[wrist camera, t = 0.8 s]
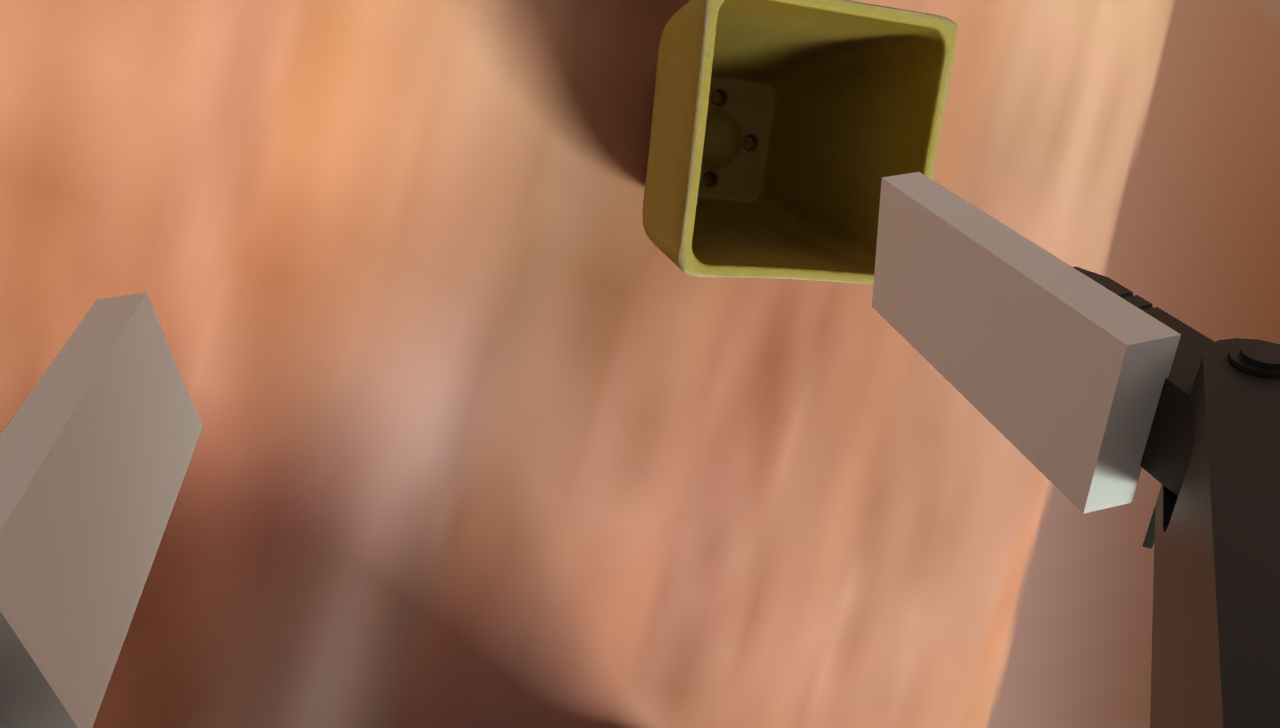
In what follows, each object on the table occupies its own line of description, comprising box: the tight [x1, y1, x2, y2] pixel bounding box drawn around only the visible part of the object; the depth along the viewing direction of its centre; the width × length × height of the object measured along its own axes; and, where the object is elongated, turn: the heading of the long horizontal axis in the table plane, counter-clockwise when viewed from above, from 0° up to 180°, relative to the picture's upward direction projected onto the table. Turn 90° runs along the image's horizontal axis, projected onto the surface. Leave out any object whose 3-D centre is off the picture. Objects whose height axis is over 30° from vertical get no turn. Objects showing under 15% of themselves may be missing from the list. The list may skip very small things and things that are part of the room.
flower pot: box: [643, 0, 957, 285], centre depth 31 cm, size 9×9×9 cm
